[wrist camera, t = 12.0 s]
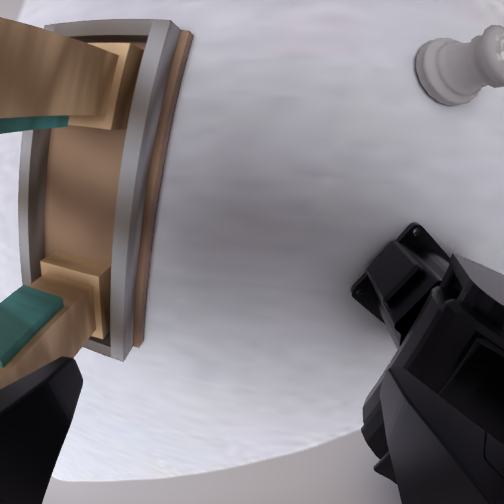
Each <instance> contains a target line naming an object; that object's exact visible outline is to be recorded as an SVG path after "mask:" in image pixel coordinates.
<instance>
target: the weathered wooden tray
mask: <svg viewBox="0 0 504 504" xmlns="http://www.w3.org/2000/svg"><path fill="white" fill-rule="evenodd" d="M192 38H193V34H192V33H191V32H190V31H185V30H180V29H179V28H178V27H177V26H176V25H175V24H174V23H173V22H172V21H171V20H157V19H110V20H91V21H78V22H68V23H59V24H51V25H45V26H44V29H42V28H39V27H35V26H32V25H28V24H24V23H21V22H17V21H13V20H9V19H4V18H1V17H0V134H2V133H10V132H18V131H23V134H22V143H21V154H20V169H19V194H18V222H19V247H20V262H21V273H22V283H23V285H26V286H29V285H30V284H32V283H33V282H34V281H36V280H37V279H38V278H40V277H41V276H42V273H41V264H40V261H41V260H43V259H44V258H46V257H47V256H49V255H50V254H52V253H53V252H55V251H58V252H62V253H66V254H70V255H74V256H78V257H83V258H87V259H91V260H95V261H99V262H103V263H108V264H112V266H111V296H110V331H109V332H108V334H107V335H106V336H105V338H104V339H100V338H97V337H94V336H90V337H89V339H88V340H87V341H86V343H85V344H84V345H83V346H82V347H84V348H87V349H90V350H92V351H95V352H97V353H100V354H103V355H106V356H108V357H111V358H114V359H117V360H120V361H122V362H124V360H125V358H126V357H127V355H128V353H129V352H130V350H131V349H132V347H133V346H135V347H138V348H139V347H140V345H141V344H142V342H143V338H144V321H145V307H146V295H147V284H148V274H149V264H150V255H151V247H152V238H153V231H154V223H155V216H156V209H157V202H158V196H159V189H160V183H161V177H162V171H163V166H164V160H165V155H166V149H167V144H168V139H169V134H170V129H171V124H172V120H173V115H174V110H175V106H176V101H177V97H178V93H179V88H180V84H181V80H182V76H183V72H184V68H185V64H186V60H187V57H188V53H189V49H190V46H191V42H192Z"/></svg>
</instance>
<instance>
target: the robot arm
mask: <svg viewBox="0 0 504 504" xmlns="http://www.w3.org/2000/svg"><path fill="white" fill-rule="evenodd" d="M416 228H418V231H417V233H415V234H413V231H414V229H416ZM357 290H362V291H361V292H360V293H358V294H357V293H356V291H357ZM351 294H352V296H353V298H354V299H355V300H357V301H358V302H359V303H360V304H361V305H363V306H364V307H365V308H366V309H368V310H369V311H370V312H371V313H372V314H374V315H375V316H376V317H377V318H378V319H380V320H381V321H382V322H383V323H384V324H386V326H387V328H388V330H389V332H390V334H391V337H392V339H393V341H394V343H395V345H396V347H397V349H398V351H397V352H396V354H395V356H394V357H393V359H392V360H391V362H390V363H389V365H388V367H387V368H386V370H385V371H384V373H383V374H382V376H381V377H380V379H379V380H378V382H377V383H376V385H375V386H374V388H373V389H372V390H371V392H370V393H369V395H368V396H367V398H366V401H365V403H364V406H363V422H364V425H363V426H362V428H361V431H362V434H363V436H364V438H365V441H366V442H367V444H368V446H369V447H370V448H371V450H372V451H373V452H374V454H375V455H376V456H377V457H378V458H379V459H380V461H379V462H378V463H377V464H376V465H375V466H374V470H375V471H376V472H377V473H379V474H381V475H383V476H385V477H387V478H389V479H390V480H392V481H393V482H395V483H396V484H397V485H398V489H399V493H400V498H401V502H402V504H504V275H503V274H500V273H498V272H496V271H494V270H492V269H489V268H487V267H485V266H483V265H480V264H478V263H476V262H474V261H471V260H469V259H467V258H464V257H462V256H460V255H457V254H455V253H453V254H452V256H451V258H449V257H448V256H447V254H446V253H445V252H444V251H443V250H442V249H441V247H440V246H439V245H438V244H437V243H436V242H435V240H434V239H433V238H432V237H431V236H430V235H429V234H428V233H427V231H426V230H425V229H424V228H423V227H422V226H421V225H419V224H418V223H412V224H411V225H409V227H408V228H407V229H406V230H405V231H404V232H403V233H402V234H401V236H400V237H399V238H398V239H397V240H396V241H393V242H391V243H390V244H389V245H388V247H387V248H386V249H385V250H384V251H383V252H382V253H381V254H380V255H379V256H378V257H377V258H376V259H375V261H374V262H373V263H372V264H371V265H370V266H369V267H368V268H367V272H366V273H365V274H364V275H363V276H362V277H361V278H360V279H359V280H358V281H357V282H356V283H355V284H354V285H353V287H352V288H351ZM82 386H83V378H82V375H81V373H80V370H79V368H78V366H77V363H76V361H75V360H74V358H71V357H66V356H61V357H59V358H58V359H56V360H54V361H52V362H50V363H48V364H46V365H45V366H43V367H41V368H39V369H37V370H35V371H33V372H32V373H30V374H28V375H26V376H24V377H22V378H20V379H19V380H17V381H15V382H13V383H11V384H9V385H7V386H6V387H4V388H2V389H0V504H42V502H43V498H44V495H45V492H46V489H47V486H48V484H49V481H50V478H51V475H52V472H53V469H54V467H55V464H56V461H57V459H58V456H59V453H60V451H61V448H62V445H63V443H64V440H65V438H66V435H67V433H68V430H69V428H70V425H71V422H72V419H73V415H74V412H75V408H76V405H77V402H78V399H79V395H80V392H81V389H82Z"/></svg>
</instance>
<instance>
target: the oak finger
mask: <svg viewBox="0 0 504 504" xmlns="http://www.w3.org/2000/svg"><path fill="white" fill-rule="evenodd" d="M40 264H41V273H42V276H41V277H40V278H38V279H37V280H36V281H34V282H33V283H32V284H30V285H29V286H26V285H23V286H22V287H20V288H19V289H18V290H16V291H15V292H14V293H12V294H11V295H10V296H9V297H7V298H6V299H5V300H3V301H2V302H1V303H0V389H2V388H4V387H6V386H7V385H9V384H11V383H13V382H15V381H17V380H19V379H20V378H22V377H24V376H26V375H28V374H30V373H32V372H33V371H35V370H37V369H39V368H41V367H43V366H45V365H46V364H48V363H50V362H52V361H54V360H56V359H58V358H59V357H61V356H66V357H71V358H74V356H75V355H76V354H77V353H78V351H79V350H80V349H81V348H82V346H83V345H84V344H85V343H86V341H87V340H88V339H89V337H90V336H94V337H97V338H100V339H104V338H105V336H106V335H107V334H108V332H109V331H110V296H111V266H112V264H108V263H103V262H99V261H95V260H91V259H87V258H83V257H78V256H74V255H70V254H66V253H62V252H58V251H55V252H53V253H52V254H50V255H49V256H47V257H46V258H44V259H43V260H41V261H40Z"/></svg>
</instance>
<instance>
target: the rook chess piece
mask: <svg viewBox="0 0 504 504" xmlns="http://www.w3.org/2000/svg"><path fill="white" fill-rule="evenodd" d="M416 70H417V73H418V76H419V80H420V83H421V84H422V86H423V87H424V88H425V90H426V91H427V93H428V94H429V95H430V96H431V97H433V98H434V99H435V100H437V101H438V102H439V103H442V104H446V105H449V106H454V105H460V104H463V103H468V102H469V101H470V100H472V99H473V98H474V97H475V96H477V94H478V92H479V91H480V90H481V88H482V87H484V86H487V85H489V86H492V87H494V88H496V87H502V86H503V87H504V27H502V26H498V25H491V26H489V27H488V28H487V29H485V30H484V33H483V35H478V36H476V37H475V38H473V39H472V41H471V42H470V43H461V42H458V41H456V40H453V39H450V38H440V39H435V40H433V41H429V42H427V43H426V44H424V45H423V46H421V48H420V50H419V52H418V54H417V56H416Z"/></svg>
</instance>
